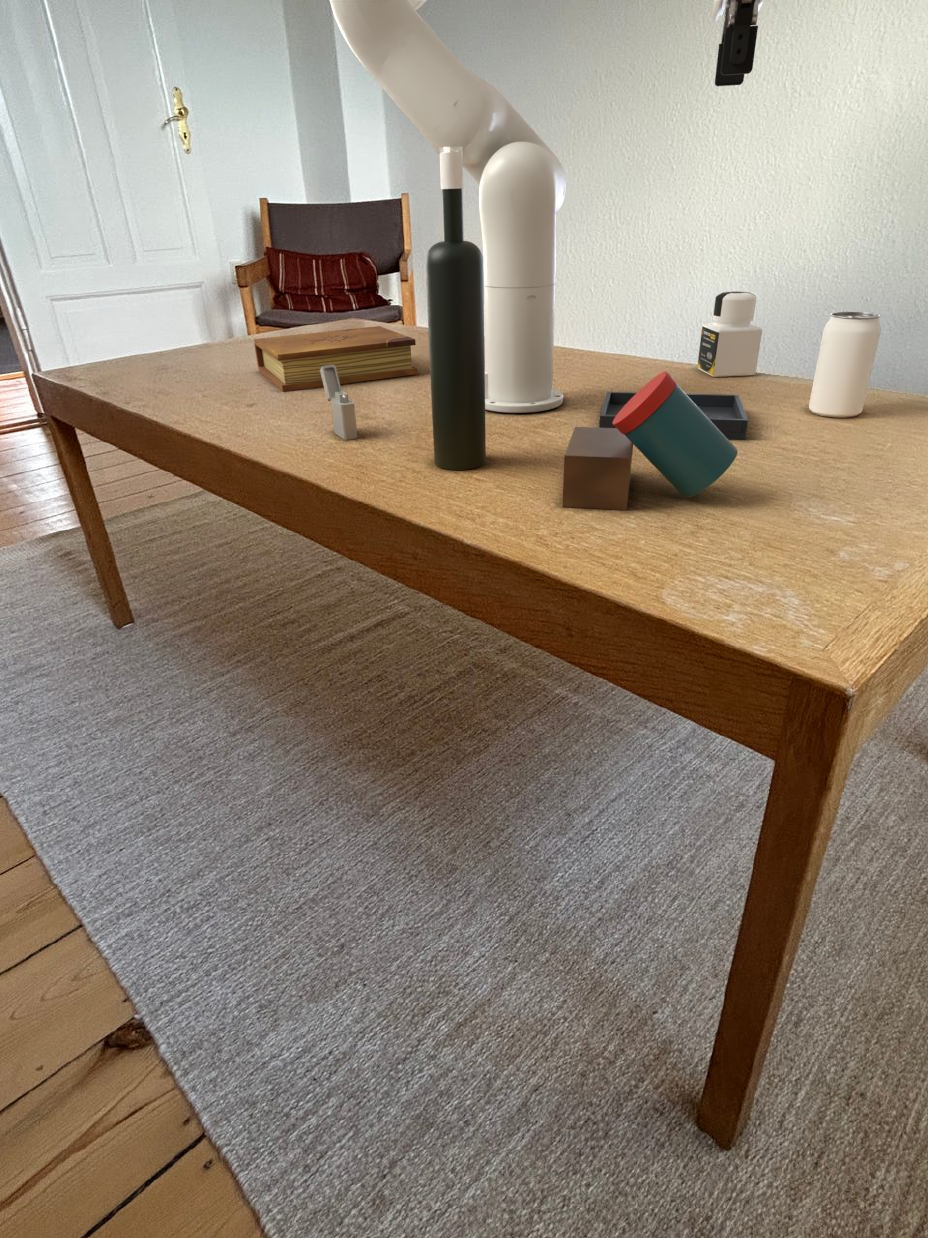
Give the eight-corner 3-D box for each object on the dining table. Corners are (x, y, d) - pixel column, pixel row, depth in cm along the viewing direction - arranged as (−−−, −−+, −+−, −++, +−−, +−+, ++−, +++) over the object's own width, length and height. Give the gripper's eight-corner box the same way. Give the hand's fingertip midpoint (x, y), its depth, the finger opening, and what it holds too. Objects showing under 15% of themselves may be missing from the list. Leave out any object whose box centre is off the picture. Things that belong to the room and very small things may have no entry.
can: (867, 419, 95) (891, 318, 89) (812, 417, 96) (833, 318, 91) (854, 406, 101) (876, 311, 95) (803, 405, 102) (821, 311, 96)
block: (562, 506, 71) (564, 455, 69) (572, 473, 80) (575, 426, 77) (626, 510, 70) (630, 458, 68) (630, 476, 78) (634, 428, 76)
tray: (598, 434, 92) (599, 415, 91) (605, 408, 104) (606, 391, 102) (745, 439, 89) (748, 420, 88) (736, 412, 100) (738, 394, 99)
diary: (380, 357, 141) (378, 325, 139) (417, 375, 127) (415, 339, 124) (258, 371, 133) (253, 337, 130) (282, 391, 118) (277, 353, 116)
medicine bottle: (696, 368, 125) (705, 290, 119) (737, 366, 126) (749, 289, 120) (712, 377, 119) (723, 295, 113) (755, 375, 119) (768, 293, 114)
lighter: (358, 437, 94) (351, 371, 90) (344, 439, 93) (337, 373, 89) (338, 425, 99) (331, 362, 96) (326, 427, 99) (318, 364, 95)
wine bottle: (436, 455, 87) (422, 149, 72) (486, 454, 86) (482, 147, 72) (432, 470, 82) (417, 145, 67) (485, 470, 81) (481, 143, 67)
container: (607, 503, 72) (613, 379, 66) (611, 481, 77) (616, 365, 72) (734, 508, 69) (751, 379, 64) (728, 484, 75) (744, 364, 69)
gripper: (712, -96, 84) (694, 90, 92) (724, -156, 69) (701, 71, 78) (784, -103, 82) (758, 86, 91) (811, -167, 68) (777, 66, 76)
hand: (732, 79), depth 84 cm, fingers open, 9 cm apart
